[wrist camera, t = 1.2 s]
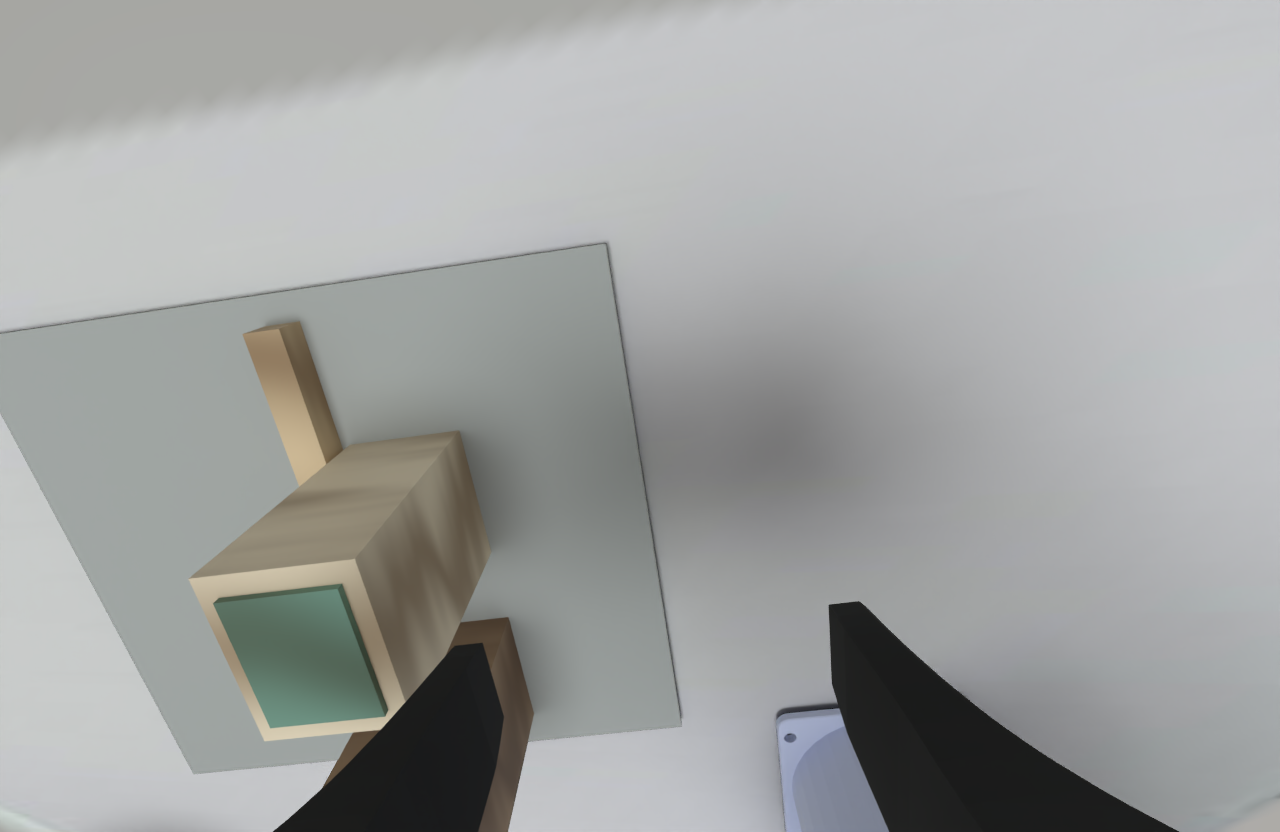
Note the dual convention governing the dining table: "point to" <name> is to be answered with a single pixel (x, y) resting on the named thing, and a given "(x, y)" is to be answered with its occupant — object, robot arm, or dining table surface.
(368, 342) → the grey mat
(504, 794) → the walnut block
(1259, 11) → the dining table surface
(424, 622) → the beech block
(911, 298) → the dining table surface
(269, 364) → the oak rail
